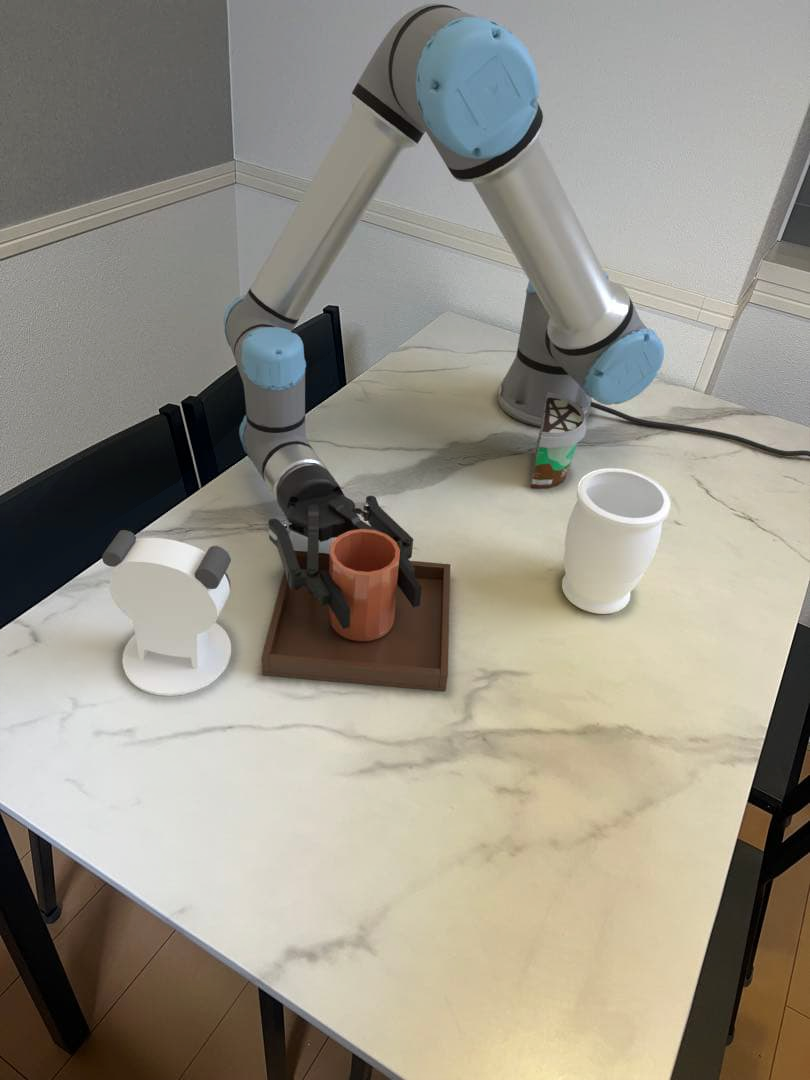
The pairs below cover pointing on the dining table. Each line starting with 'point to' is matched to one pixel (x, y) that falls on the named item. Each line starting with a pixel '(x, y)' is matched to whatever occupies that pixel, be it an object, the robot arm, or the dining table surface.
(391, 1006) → the dining table surface
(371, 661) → the tray
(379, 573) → the cup
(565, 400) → the food container
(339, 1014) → the dining table surface
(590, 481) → the jar
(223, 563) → the panda figurine
